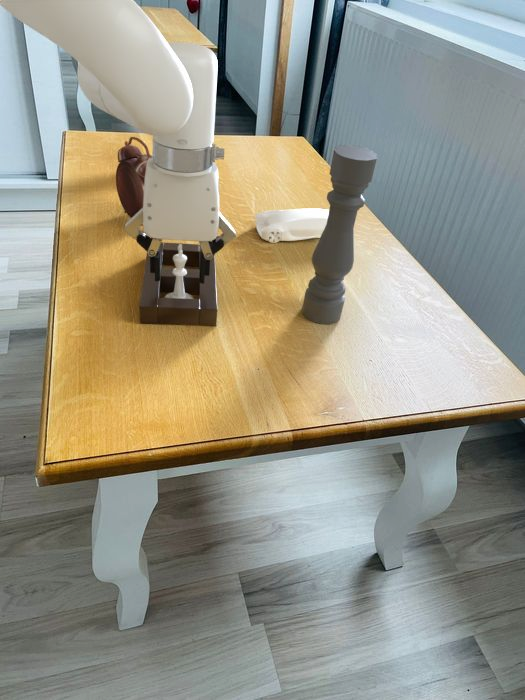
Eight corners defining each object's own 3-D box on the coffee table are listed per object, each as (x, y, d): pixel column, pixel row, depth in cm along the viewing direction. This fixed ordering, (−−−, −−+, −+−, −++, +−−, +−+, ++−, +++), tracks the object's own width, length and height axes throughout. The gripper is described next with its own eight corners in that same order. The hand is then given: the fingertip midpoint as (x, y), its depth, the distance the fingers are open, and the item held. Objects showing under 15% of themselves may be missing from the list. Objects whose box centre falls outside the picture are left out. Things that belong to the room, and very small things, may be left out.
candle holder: (301, 299, 89) (330, 141, 73) (339, 304, 89) (376, 147, 74) (302, 321, 84) (333, 157, 69) (342, 326, 84) (382, 163, 69)
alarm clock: (166, 228, 103) (167, 147, 94) (143, 233, 100) (141, 150, 91) (136, 206, 109) (134, 127, 100) (114, 210, 106) (110, 130, 97)
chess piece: (164, 314, 81) (165, 253, 75) (160, 296, 85) (160, 237, 79) (197, 312, 83) (200, 252, 77) (192, 294, 86) (194, 236, 80)
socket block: (139, 323, 79) (139, 306, 77) (148, 257, 94) (148, 241, 92) (216, 326, 80) (217, 309, 79) (213, 260, 95) (214, 245, 94)
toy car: (261, 243, 102) (263, 220, 100) (252, 224, 108) (255, 202, 106) (351, 243, 107) (356, 222, 104) (339, 225, 113) (343, 204, 110)
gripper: (248, 150, 74) (236, 267, 85) (116, 139, 72) (122, 261, 83) (252, 170, 68) (239, 294, 79) (109, 159, 66) (116, 288, 77)
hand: (179, 276), depth 81 cm, fingers open, 5 cm apart
